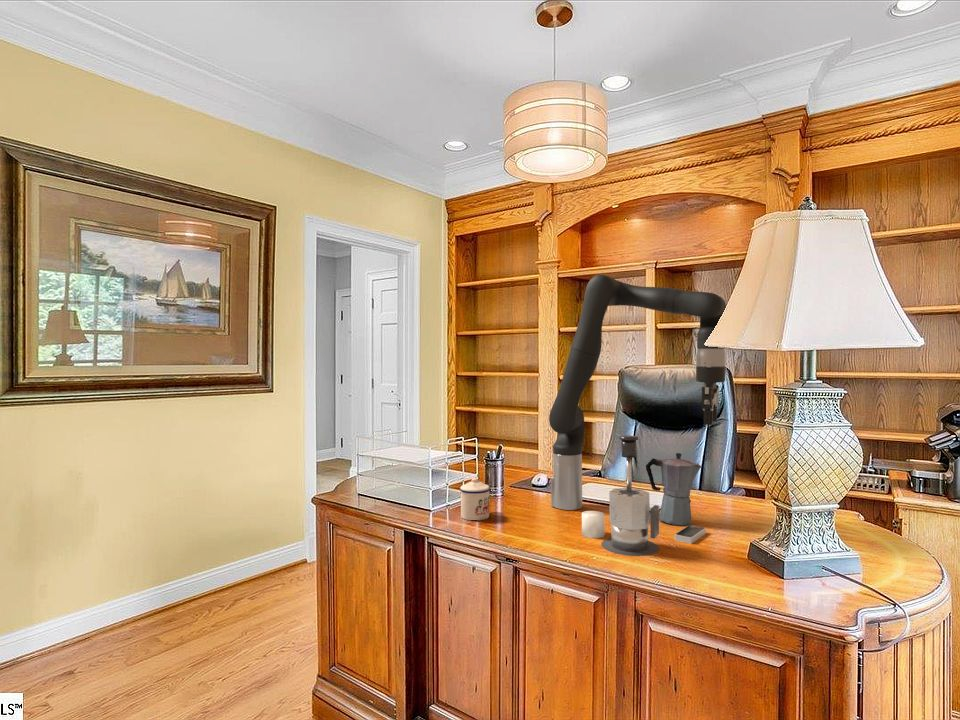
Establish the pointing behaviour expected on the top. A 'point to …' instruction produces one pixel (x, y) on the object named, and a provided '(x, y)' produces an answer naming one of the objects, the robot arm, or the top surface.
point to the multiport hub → (690, 534)
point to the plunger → (628, 456)
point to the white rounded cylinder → (593, 524)
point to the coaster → (651, 550)
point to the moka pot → (675, 488)
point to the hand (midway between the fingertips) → (710, 422)
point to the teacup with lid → (475, 500)
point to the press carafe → (632, 519)
